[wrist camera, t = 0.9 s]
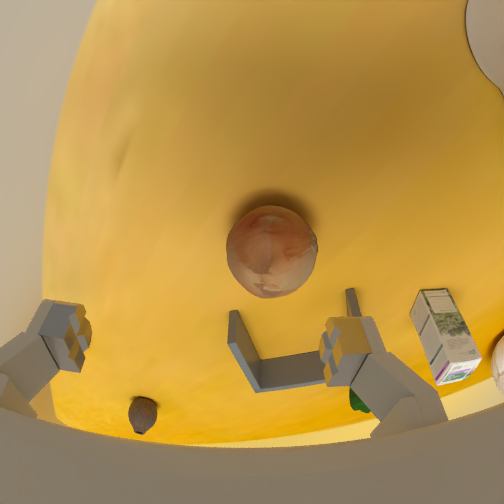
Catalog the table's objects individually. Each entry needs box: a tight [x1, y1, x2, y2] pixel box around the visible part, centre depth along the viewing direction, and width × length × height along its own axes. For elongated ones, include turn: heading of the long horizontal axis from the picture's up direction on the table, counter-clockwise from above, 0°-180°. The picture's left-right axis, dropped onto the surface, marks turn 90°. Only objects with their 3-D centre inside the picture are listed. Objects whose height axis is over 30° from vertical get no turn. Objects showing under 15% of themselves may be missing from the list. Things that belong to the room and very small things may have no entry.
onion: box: [226, 205, 318, 298], centre depth 35 cm, size 10×10×10 cm
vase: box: [128, 398, 157, 435], centre depth 66 cm, size 7×7×9 cm
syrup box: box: [410, 289, 482, 386], centre depth 41 cm, size 6×6×14 cm
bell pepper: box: [349, 388, 371, 413], centre depth 56 cm, size 8×8×10 cm
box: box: [227, 288, 362, 393], centre depth 49 cm, size 18×15×6 cm
